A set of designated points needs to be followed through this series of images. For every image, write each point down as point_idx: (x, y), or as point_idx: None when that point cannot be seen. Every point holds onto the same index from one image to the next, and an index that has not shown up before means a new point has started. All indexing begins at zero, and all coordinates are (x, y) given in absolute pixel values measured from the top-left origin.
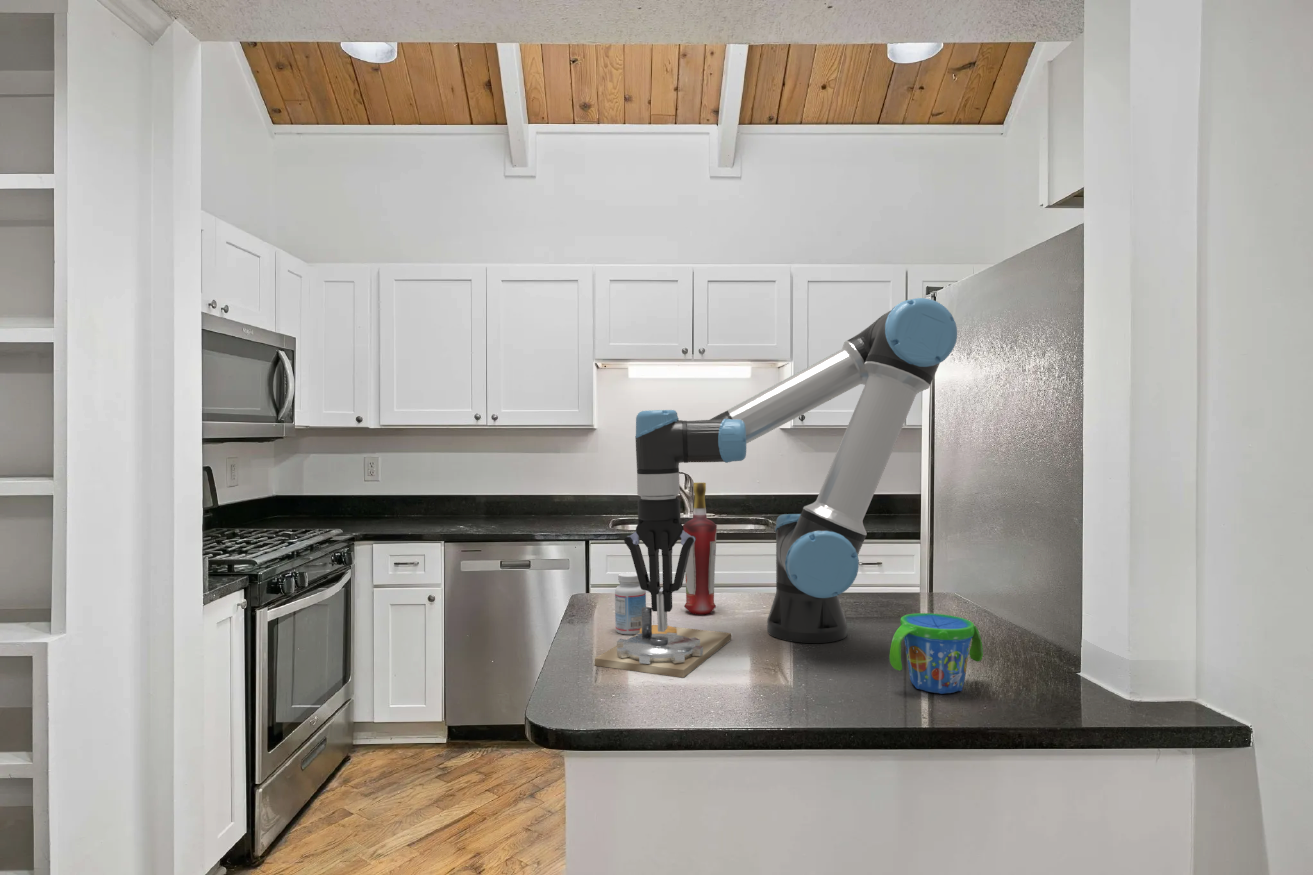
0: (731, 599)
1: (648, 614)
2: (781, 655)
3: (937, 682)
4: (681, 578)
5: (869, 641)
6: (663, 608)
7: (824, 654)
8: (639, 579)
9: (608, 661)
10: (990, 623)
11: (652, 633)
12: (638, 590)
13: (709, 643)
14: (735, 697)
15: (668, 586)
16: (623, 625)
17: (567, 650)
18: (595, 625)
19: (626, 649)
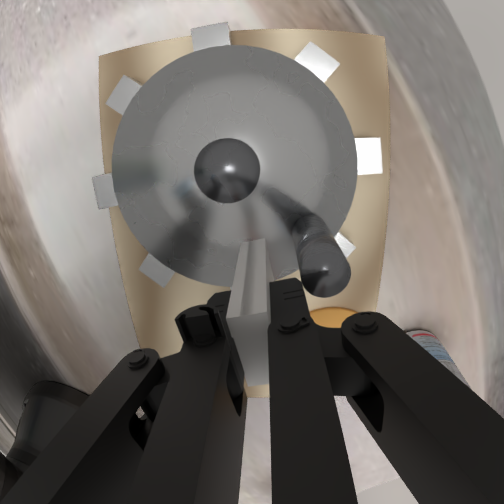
0: None
1: (305, 249)
2: (33, 310)
3: None
4: (86, 401)
5: (14, 399)
6: (233, 282)
7: (4, 334)
8: (412, 348)
9: (337, 32)
10: (7, 451)
11: (329, 319)
12: None
13: (146, 305)
14: (5, 41)
15: (181, 359)
16: (424, 341)
17: (492, 150)
18: (480, 355)
19: (302, 61)
